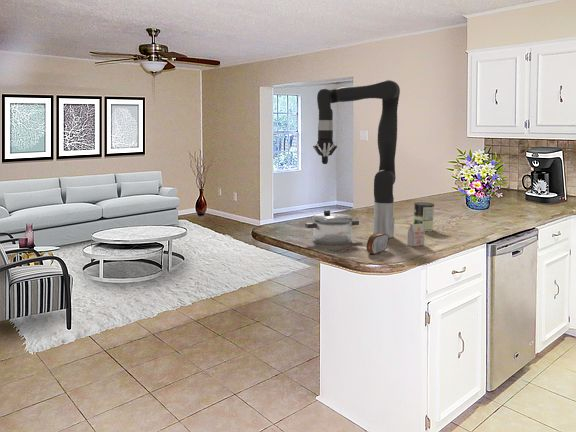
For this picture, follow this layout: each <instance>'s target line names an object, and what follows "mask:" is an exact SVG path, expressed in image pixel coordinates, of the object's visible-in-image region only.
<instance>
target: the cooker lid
mask: <svg viewBox="0 0 576 432" xmlns="http://www.w3.org/2000/svg"><path fill="white" fill-rule="evenodd" d="M353 220H354V218H353V216H352V215H349V214H346V213H345V214H343V213H331V210H329V209H325V210H323V213H317V214H313V215H312V221H313V222H314V221H316V222H320V223H331V224H339V223H349V222H352V221H353Z"/></svg>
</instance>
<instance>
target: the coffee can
mask: <svg viewBox="0 0 576 432" xmlns="http://www.w3.org/2000/svg"><path fill="white" fill-rule="evenodd" d="M413 204H414V206H413V209H414V210H413V221H412V222H413V224H423V227H424V231H428V232H432V231H433V227H434V225H433V224H434V214H435V213H434V212H435V211H434V209H435V203H433V202H426V201H425V202H424V201H423V202H422V201H419V202H414V203H413Z"/></svg>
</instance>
